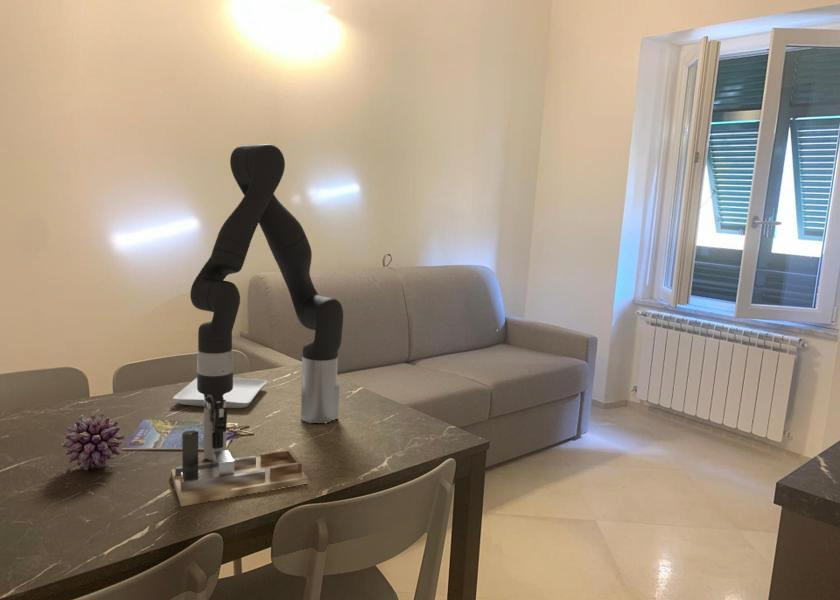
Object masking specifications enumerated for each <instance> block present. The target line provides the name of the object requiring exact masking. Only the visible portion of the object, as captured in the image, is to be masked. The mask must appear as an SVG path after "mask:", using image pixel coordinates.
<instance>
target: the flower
mask: <svg viewBox="0 0 840 600" xmlns="http://www.w3.org/2000/svg"><path fill="white" fill-rule="evenodd" d="M78 419H79V420H76V421H75V424H74V425H73V427H70V426H67V427H66V428H65V430H67V431H68V432H69V433H65V436H64V437H65V439H66V441H65V442H62V443H60V445H61V448H67V450H66V451H65V455H66V456H68V455H70V457H69V458H68V459H67V461H68V463H72V462H75V461H77V462H76V465H78V466H80V465H82V464H83V466H84V467H83V470H85V471H88V470H89V467H90V466H91V465H93V468H97V467H98V464H100V465H101V466H102V467H103V468H105V467H107V466H108V464H107V460H108V461H109V460H113V459H115V456H114V455H117V456H120V454H121V452H120V451H119V450H118V449H117V448H119V447H120V446H121V445H122V444H123V443H122V441H121V440H125V435H121V434H118V432H119V431H121V429H122V428H121V426H120V425H119V426H117V425H118V424H119V423H120V422H119V420H115V421H113V422H110V419H111V417H110V416H107V417H106V418H105V414H104V412H100V413H99V415H97V417H96V415H95V413H92V414H91V415H90V417H89V418H87V417H85V416H84V415H83V414H81V415H79V416H78Z"/></svg>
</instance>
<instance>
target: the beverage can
mask: <svg viewBox="0 0 840 600" xmlns="http://www.w3.org/2000/svg"><path fill="white" fill-rule="evenodd" d="M203 407H204V406H203ZM225 408H226V407H225ZM212 417H213V418H214V415H213V414H212ZM220 426H221V424H218V425H217V427H220ZM227 426H228V424H226V432H223V447H222V448H217V449H214V448H213V447H212V424H211V422H210V421H209V411H208V409H207V406H205V407H204V409H203V456H204V458H205V459H206V460H207V461H209V462H213V452H216V451H223V450H227V437H228V436H227V429H228V428H227Z"/></svg>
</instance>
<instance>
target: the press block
mask: <svg viewBox="0 0 840 600" xmlns="http://www.w3.org/2000/svg"><path fill="white" fill-rule="evenodd" d="M181 437H182V439H181V442H182V444H181V446H182V447H181V449H182V451H181V453H182V454H181V455H182V463H181V466H182V472H181V478H182V481H183V482H188V481H194V480H200V479H207V478H213V477H219V476H226V475H232V474H234V458H233V455H232V454H231V453H230V451H229V450H228V449H226V450H223V451H216V452H213V461H212V462H213V467H212V468H206V469H199V470H198V464H199V432H198V431H197V430H187V431H184V432H182V435H181Z"/></svg>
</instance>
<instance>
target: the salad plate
mask: <svg viewBox="0 0 840 600" xmlns="http://www.w3.org/2000/svg"><path fill="white" fill-rule="evenodd" d="M267 383H268V380H265V379H255V378H246V377H245V378H244V377H233V389H232V390H231V391H230V392H228V393H225V394H224V395H223V398H224V400H226V407H227V409H243V408H247V407H248V406H250V404H251V403H252V401H253V400H254V398H255V397H256V396H257V394H258V393H259V392H260V391H261V390H262V389H263V388H264V387H265V386H266V385H267ZM172 400H173V401H174V402H176V403H178V404H180V405H186V406H190V407H191V406H194V407H205V404H204V394H202V393H200V392H198V390H197V377H196V378H194V380H192V381H191V382H190V383H188V384H187V385H186V386H185V387H184V388H183V389H181V390H180V391H179V392H177V393H176V394H175V395H174V396H172Z"/></svg>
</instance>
